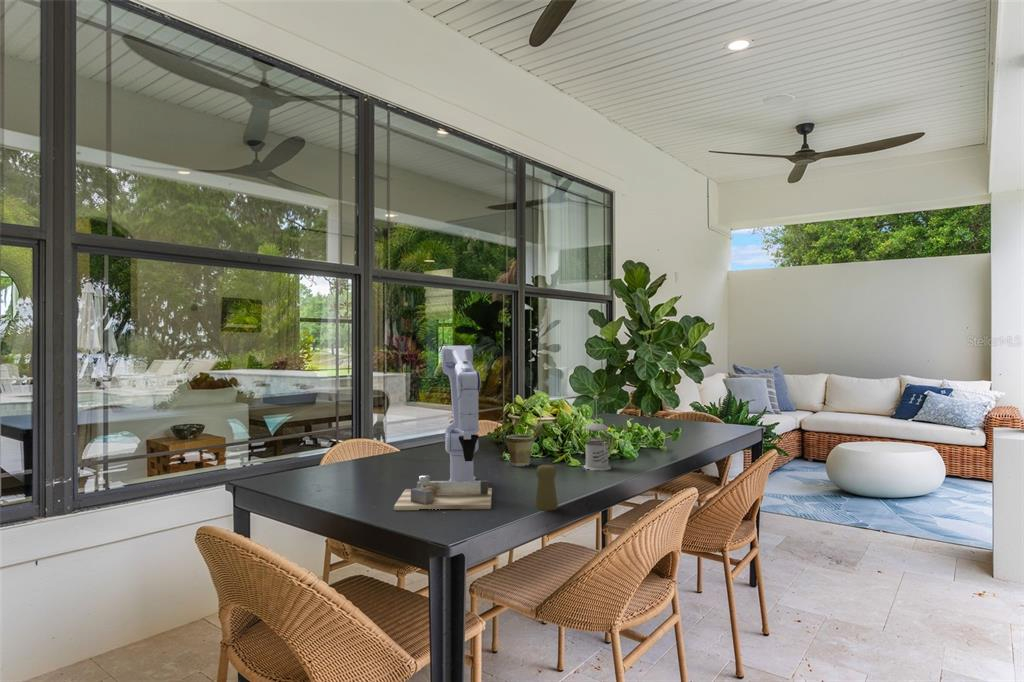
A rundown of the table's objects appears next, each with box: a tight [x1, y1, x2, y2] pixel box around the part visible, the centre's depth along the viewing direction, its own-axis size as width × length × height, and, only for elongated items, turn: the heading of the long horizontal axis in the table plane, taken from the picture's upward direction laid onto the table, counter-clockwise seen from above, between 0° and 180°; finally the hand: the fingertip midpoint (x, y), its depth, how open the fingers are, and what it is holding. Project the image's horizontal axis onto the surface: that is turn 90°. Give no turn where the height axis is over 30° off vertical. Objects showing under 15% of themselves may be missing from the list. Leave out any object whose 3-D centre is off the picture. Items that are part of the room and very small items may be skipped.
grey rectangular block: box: [410, 486, 433, 505], centre depth 160 cm, size 2×6×3 cm, turn 51°
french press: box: [582, 395, 614, 471], centre depth 210 cm, size 10×12×25 cm
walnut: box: [425, 486, 437, 499], centre depth 162 cm, size 4×4×4 cm
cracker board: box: [393, 487, 493, 511], centre depth 166 cm, size 18×25×1 cm
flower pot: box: [505, 433, 535, 467], centre depth 217 cm, size 13×10×10 cm
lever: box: [416, 474, 489, 494], centre depth 168 cm, size 20×3×5 cm, turn 91°
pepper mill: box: [534, 464, 559, 511], centre depth 158 cm, size 6×6×11 cm
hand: (468, 460), depth 173 cm, fingers closed
